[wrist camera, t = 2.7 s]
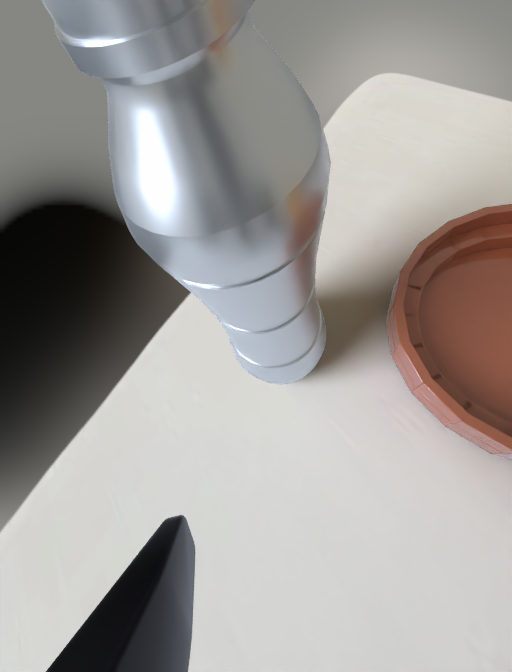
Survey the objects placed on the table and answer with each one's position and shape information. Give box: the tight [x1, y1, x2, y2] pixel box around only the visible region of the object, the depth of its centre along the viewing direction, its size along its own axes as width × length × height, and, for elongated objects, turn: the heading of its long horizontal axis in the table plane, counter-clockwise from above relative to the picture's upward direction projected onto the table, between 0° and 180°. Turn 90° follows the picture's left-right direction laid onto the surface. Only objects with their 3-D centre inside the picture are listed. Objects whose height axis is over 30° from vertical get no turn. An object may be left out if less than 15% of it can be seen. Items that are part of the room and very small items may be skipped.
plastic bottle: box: [41, 0, 331, 384], centre depth 13 cm, size 6×7×20 cm
